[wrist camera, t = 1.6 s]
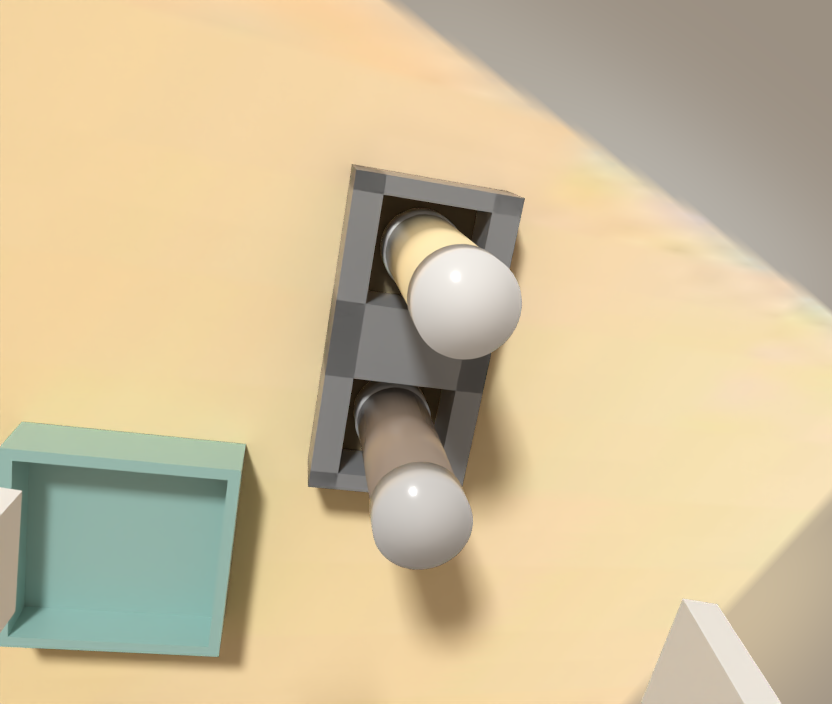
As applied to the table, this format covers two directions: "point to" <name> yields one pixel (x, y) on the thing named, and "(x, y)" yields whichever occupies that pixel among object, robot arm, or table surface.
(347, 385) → the block
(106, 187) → the table surface
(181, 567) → the parts tray
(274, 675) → the table surface
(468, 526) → the fuse
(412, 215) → the white rounded cylinder
